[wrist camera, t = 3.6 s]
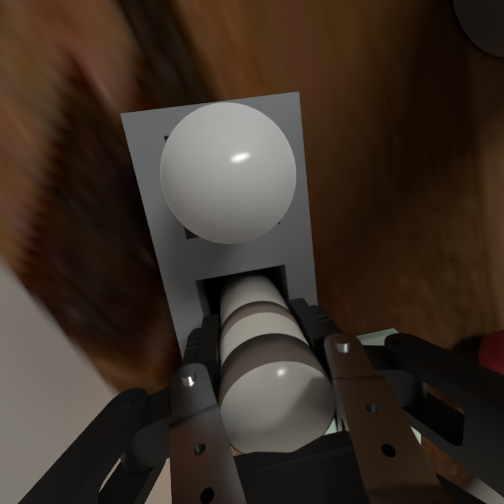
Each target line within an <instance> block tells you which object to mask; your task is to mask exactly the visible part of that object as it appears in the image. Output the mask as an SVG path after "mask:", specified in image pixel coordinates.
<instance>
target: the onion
mask: <svg viewBox="0 0 504 504" xmlns="http://www.w3.org/2000/svg"><path fill="white" fill-rule="evenodd" d="M478 357H479V364H480V365H481V366H484V367H486V368H488V369H490V370H493V371H495V372H497V373H499V374H502V375H504V330H500V331H497V332H494V333H492V334H490V335H488V336H485V337H484V338H483V339H482V340H481V344H480V348H479V353H478Z"/></svg>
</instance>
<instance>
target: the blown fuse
mask: <svg viewBox="0 0 504 504" xmlns="http://www.w3.org/2000/svg"><path fill="white" fill-rule="evenodd" d="M219 352H220V374H219V390H218V406H219V410H220V413H221V417H222V420H223V424H224V427H225V431H226V434H227V438H228V441H229V444H230V445H231V446H232V447H233V448H234V449H235V450H237V451H238V452H240V453H242V454H247V453H251V452H255V451H258V452H293V451H295V450H297V449H299V448H301V447H302V446H304V445H306V444H308V443H310V442H311V441H313V440H315V439H317V438H318V437H320V436H322V435H324V434H325V433H326V431H327V430H328V429H329V427H330V425H331V424H332V421H333V419H334V417H335V413H336V401H335V395H334V390H333V386H332V382H331V381H330V379H329V377H328V375H327V374H326V372H325V370H324V368H323V367H322V365H321V363H320V361H319V359H318V358H317V356H316V354H315V352H314V351H313V350H312V348H311V347H310V346H309V345H308V343H307V341H306V339H305V337H304V336H303V332H302V330H301V328H300V326H299V324H298V323H297V321H296V319H295V317H294V316H293V315H292V313H291V312H290V311H289V309H288V307H287V305H286V303H285V302H284V300H283V298H282V296H281V295H280V293H279V291H278V289H277V287H276V286H275V284H274V282H273V280H272V279H271V277H270V276H269V275H268V274H267V273H265V272H264V271H262V270H260V269H257V270H251V271H246V272H240V273H235V274H230V275H229V276H228V277H227V278H226V280H225V281H224V283H223V285H222V288H221V298H220V335H219Z"/></svg>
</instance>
